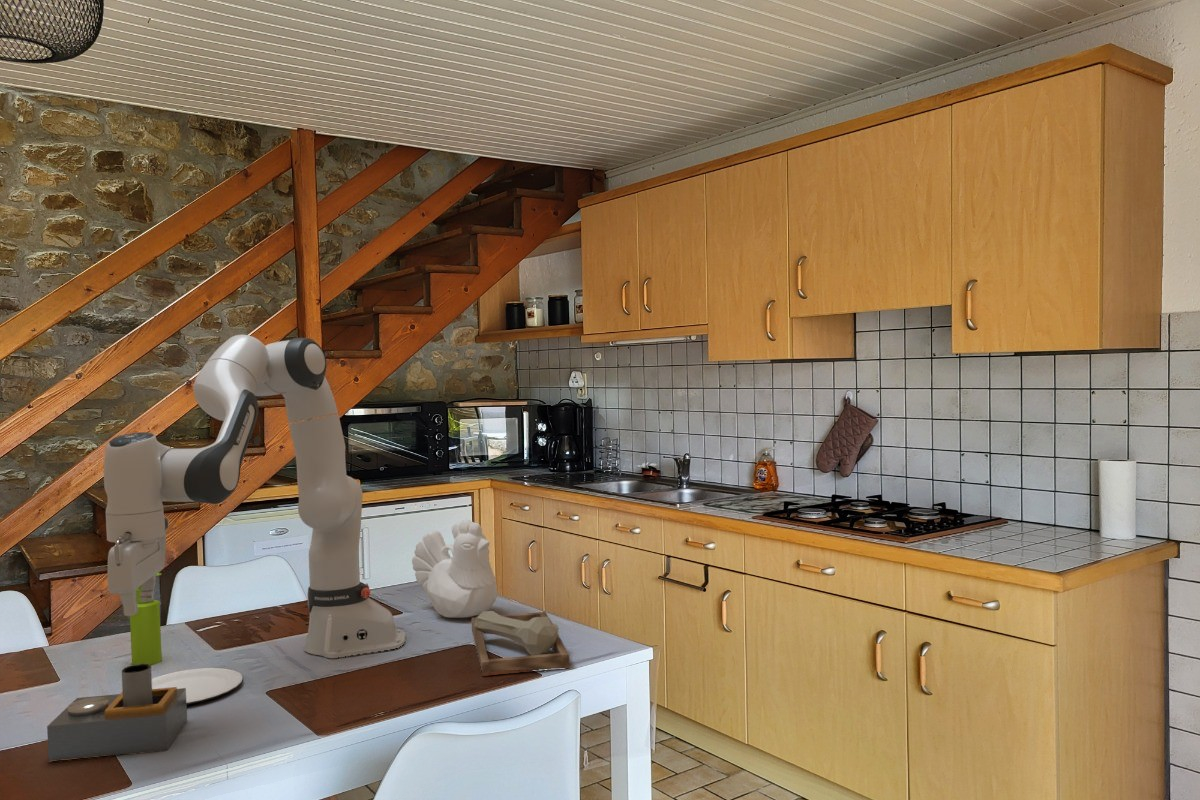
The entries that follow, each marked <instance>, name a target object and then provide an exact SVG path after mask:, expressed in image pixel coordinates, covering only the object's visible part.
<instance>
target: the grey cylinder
mask: <svg viewBox="0 0 1200 800" xmlns="http://www.w3.org/2000/svg"><path fill="white" fill-rule="evenodd" d="M152 678H153V677H152V665H149V664H137V665H132V664H131V665H130V666H126V667H124V668H123V669H122V670H121V689H122V691H121V692H123V707H128V706H139V705H149V704H153V698H152Z"/></svg>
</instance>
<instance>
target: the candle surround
mask: <svg viewBox="0 0 1200 800" xmlns="http://www.w3.org/2000/svg"><path fill="white" fill-rule="evenodd" d="M499 615H500V614H499ZM500 616H502V617H507V618H512V619H517V620H521V621H529V620H531V619H532V618H535V617H549V616H548V613H547V612H546V611H539V612H525V613H516V614H514V613H513V614H503V615H500ZM477 617H478V616H474V617H471V632H472V636H474V637H473V641H475V642H474V645H476V646H475V650H476V649H477V651H476V654H477V653H478V655H477V658H478V657H479V660H478V663H479V662H480V665H479V667H480V666H481V669H480V671H481V670H482V673H484V672H495V671H504V670H519V669H524V670H525V669H528V670H539V669H551V668H569V669H570V655H569V654H570V653H569V652H568V650H567V648H566V647H565V645H564V643H563V641H562V640H561V637H560V636H559V634H558V633H557V637H556V641H555V644H554V645H553V646H552V648H551V650H552V652H553V651H554V652H553V653H546V654H539V655H532V656H531V655H523V656H522V655H521V656H513V657H501V658H489V656H488V652H487V649H486V643H485V641H484V637H483V632H481V630H479V629H477V628H476V627H475V626H474V625H475V620H476V618H477Z"/></svg>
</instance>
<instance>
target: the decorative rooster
mask: <svg viewBox="0 0 1200 800" xmlns="http://www.w3.org/2000/svg"><path fill="white" fill-rule="evenodd" d="M451 534H452V535H453V539H454V542H453V544H452V543H448V544H446V542H445V540H444V537H443V535H442V534H441V532H440V531H438V530H431V531H429V532H428V533H426V534H424V536H422V539H421V540H420V541H418V542H417V544H416V546H415V549H414V555H413V557H412V559H411V565H412V569H413V571H414V576H415V579H416V580H415V581H416V583H417V584H419V586H422V589H423V590H424V592H425V593H427V595H428V599H429V601H430V602H431V605H432V607H433V608H434V610H435V611H436V612H437V613H438V614H439V615H441V616H443V617H445V618H450V619H451V618H452V619H454V618H456V619H457V618H460V619H461V618H470V617H471V618H472V617H477V616H479V615H480V614H481V613H482V612H483V611H489V610H490V609H491V608H492V607H493V606H494V604H495V603H496V601H497V598H498V587H497V580H496V576H495V574H494V571H493V569H492V566H491V563H490V549H489V547H490V541H489V540H487V538H486V536H485V534H484V533H483V528H482V526H481V524H479V523H478V522H473V521H472V520H469V519H464V520H461V521H460V522H459V521H458V522H455V523H454V524H453V525H452V526H451ZM449 551H450V552H451V555H452V557H451V555H450V553H449Z"/></svg>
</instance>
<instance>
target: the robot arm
mask: <svg viewBox="0 0 1200 800" xmlns="http://www.w3.org/2000/svg"><path fill="white" fill-rule="evenodd" d="M326 372H327V358H326V354H325V352H324V349H323V348H322V347H321V346H320V345H319V343H317V342H316V341H315V340H314V339H312V338H309V337H294V338H292V339H287V340H281V341H274V342H272V343H268V344H266V345H265V344H264V343H263V342H262V341H261V340H259V339H258V338H256V337H255V336H252V335H249V334H236V335H233V336H231V337H229V338H228V339H227V340H225V342H223V343H222V344H221V345H220V346H218V348H217V349H216V350H215V351H214V352H213V354H211V356H210V357H209V358H208V360H206V362H205V364H204V366H203V367H202V368H201V369H200V371H199V372H198V374H197V376H196V377H195V379H194V383H193V386H192V389H193V395H194V398H195V401H196V403H197V404H198V406H199V407H200V408H201V409H202V411H204V413H206V414H207V415H208V416H210V417H212V418H214V419H216V420H218V421H220V422H221V421H222V424H221V427H220V430H219V433H218V434H217V437H216V440H215V441H214V442H213V443H212V444H210V445H207V446H204V447H198V448H196V447H194V448H175V447H174V448H172V447H171V446H167V445H164V443H163V444H162V443H161V442H160V441H158V439H157V437H156V435H155V433H151V432H148V431H147V432H143V431H142V432H139V431H138V432H132V433H125V434H122V435H118V436H116V437H114V438H112V439H110V440H109V441H107V442H108V443H107V445H106V448H105V452H104V458H103V459H104V461H103V483H104V484H103V487H104V491H105V493H106V497H107V504H106V508H105V526H106V527H105V528H106V529H105V531H106V541H108V542H109V543H115V545H114V546H112V547H110V549H109V550H108V555H107V590H108V592H109V594H111V595H119V599H120V602H121V604H122V607H123V609H122V610H123V615H124V616H125V617H130V616H133V615H135V614H136V613H137V612H138V603H136V596H135V594H136V589H137V588H138V587H139V586H141V585H142V591H141V601H142V602H149V601H151V600H152V599H153V600H154V598H155V593H154V592H155V591H154V590H155V585H156V580H157V577H156V573H160V572H161V570H163V569H164V566H165V562H166V553H167V549H166V548H167V534H166V531H167V530H168V529H169V525H170V524H169V518H168V517H167V516H165V515H164V514H165V513H164V504H163V502H172V503H173V502H174V503H180V502H181V503H183V502H184V503H191V502H192V503H193V502H195V503H202V504H211V505H212V504H213V505H218V504H221V503H224V502H225V501H226V500H227V499H228V498H229V497H230V496H231V495H232V494H233V493H234V492H235V490H236V488H237V487H238V485H239V482H240V481H239V480H240V477H241V476H240V475H241V468H242V463H243V460H244V457H245V455H246V451H247V449H248V446H249V443H250V440H251V437H252V436H253V432H254V429H255V425H256V423H257V419H258V416H259V402H258V399H260V398H263V397H270V396H277V395H282V397H283V398H284V403H285V413H286V418H287V422H288V428H289V432H290V436H291V440H292V441H291V442H292V446H293V451H294V455H295V463H296V478H297V479H296V480H297V490H298V491H297V492H298V493H297V494H298V505H297V511H298V515H299V518H300V519H301V521H302V522H303V523H304V524H305V525H306V526H308V527H309V528H311V529H312V533H311V541H310V547H309V550H308V568H309V569H308V571H309V586H308V588H307V609H308V613H309V618H308V619H309V620H308V621H309V622H308V630H307V636H306V639H305V641H306V642H305V645H304V651H305V653H308V654H311V655H315V656H322V657H324V658H328V659H338V657H339V658H344V657H345V656H346V657H352V656H351V655H353V656H358V655H357V654H360V655H364V654H363V653H367V654H372V653H371V652H374V653H379V652H378V651H381V652H385V651H384V650H388V651H391V650H390V649H395V648H398V647H400V646H401V647H403V646H404V645H405V643H406V641H405V640H407V638H406V633H405V632H404V631H403V630H401V629H399V628H396V622H395V618H394V616H393V614H392V612H391V610H389V609H388V608H386V607H384V606H383V605H381V604H379V603H378V602H377V601H375V600H374V599H372V598H370V595H371V589H370V586H369V583H364V582H361V579H360V576H361V575H360V574H361V573H360V539H361V527H362V509H363V489H362V487H361V485H360V483H359V481H357V480H356V479H355V478H353V477H352V476H349V475H347V466H346V463H347V462H346V442H345V439H344V438H345V437H344V434H343V430H342V423H341V420H340V414H339V411H338V407H337V404H336V401H335V397H334V394H333V392H332V390H331V389H332V388H331V387H330V384H329V382H328V380H327V378H326ZM404 642H405V643H404ZM403 644H404V645H403ZM402 645H403V646H402ZM401 647H400V648H401ZM398 649H399V648H398ZM395 650H396V649H395ZM346 657H345V658H346Z"/></svg>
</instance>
